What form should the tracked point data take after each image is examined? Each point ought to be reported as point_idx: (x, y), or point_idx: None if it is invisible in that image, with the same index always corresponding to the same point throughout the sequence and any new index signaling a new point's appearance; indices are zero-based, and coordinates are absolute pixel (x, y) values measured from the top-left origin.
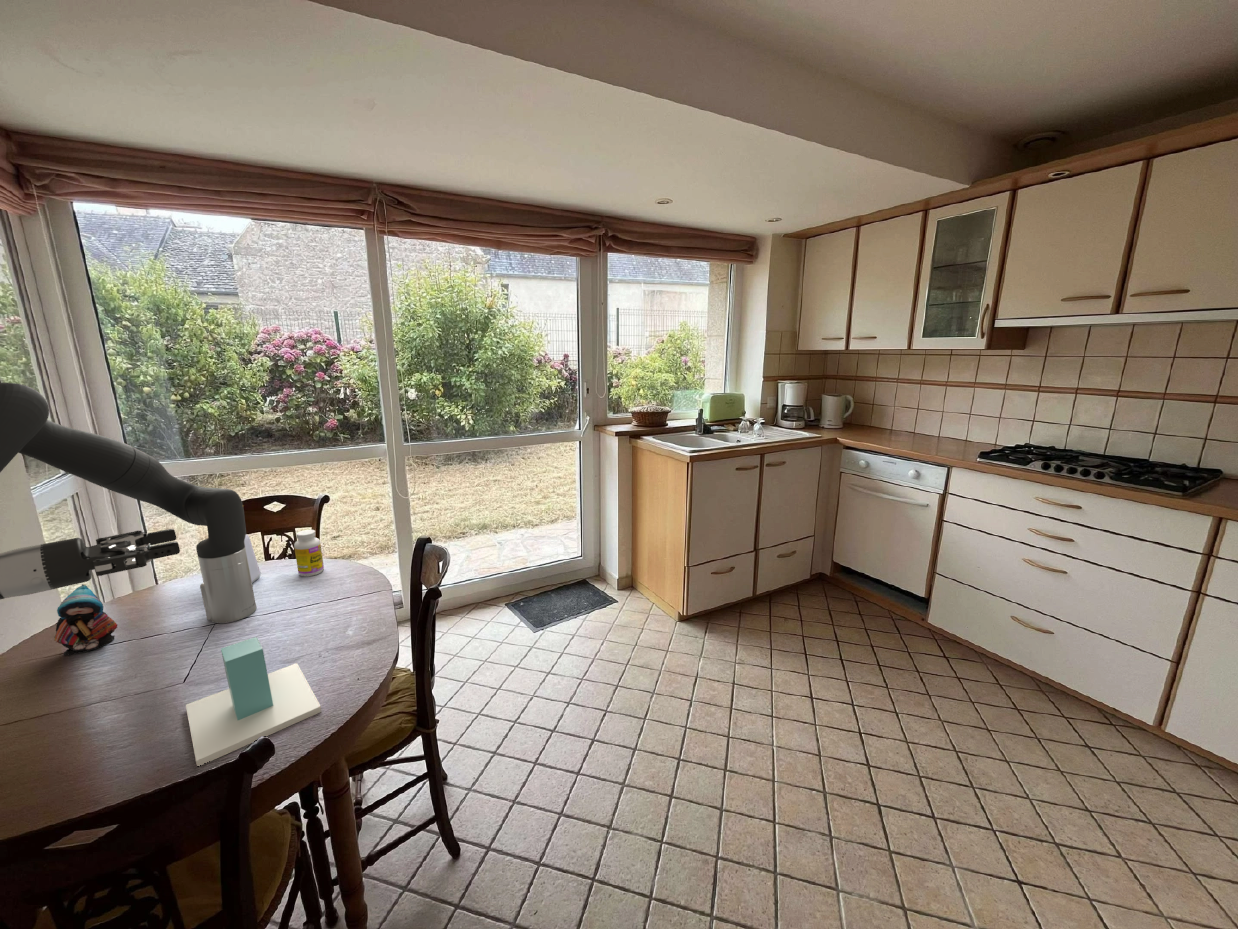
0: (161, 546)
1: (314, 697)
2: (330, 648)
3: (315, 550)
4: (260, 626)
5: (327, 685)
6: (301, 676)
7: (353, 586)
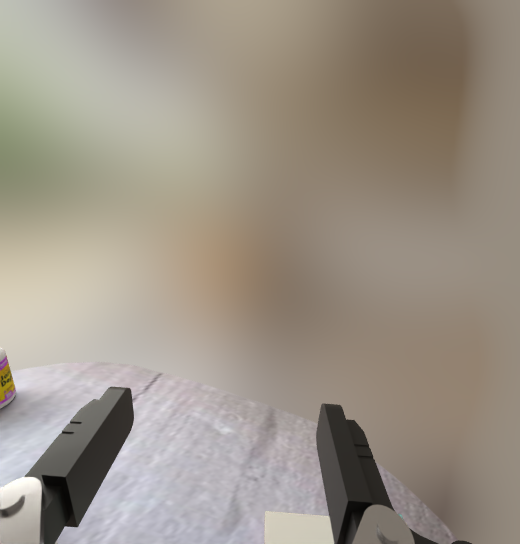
0: (353, 455)
1: None
2: (245, 462)
3: (5, 363)
4: None
5: None
6: (310, 518)
7: (111, 385)
